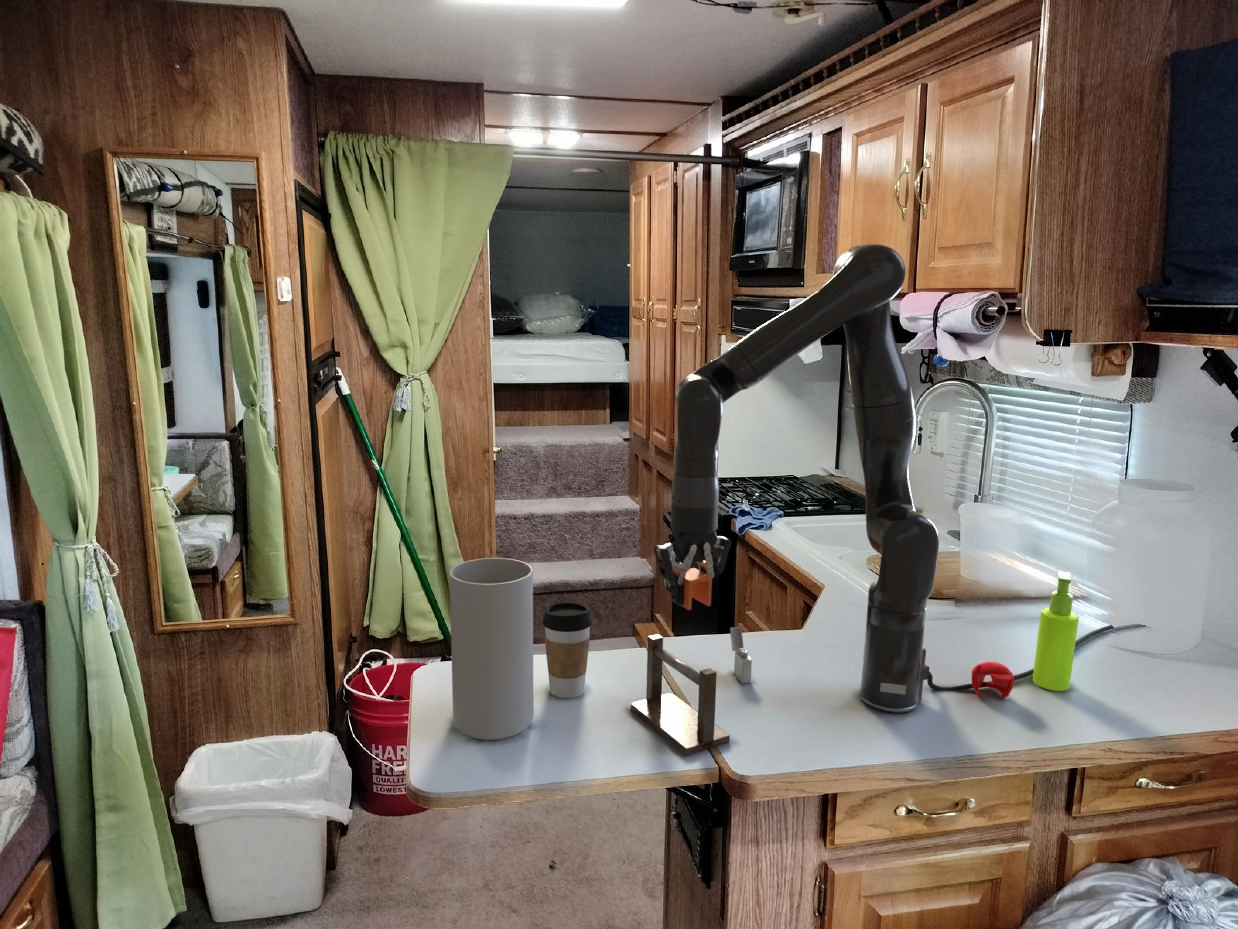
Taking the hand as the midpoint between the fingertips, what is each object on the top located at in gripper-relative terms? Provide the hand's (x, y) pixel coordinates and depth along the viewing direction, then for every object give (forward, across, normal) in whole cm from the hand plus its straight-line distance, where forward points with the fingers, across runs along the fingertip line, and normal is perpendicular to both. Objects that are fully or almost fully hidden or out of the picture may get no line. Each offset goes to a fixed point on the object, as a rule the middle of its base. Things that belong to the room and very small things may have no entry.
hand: (691, 601), depth 139 cm
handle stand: (+17, -6, -7) cm, 20 cm away
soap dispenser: (+17, +61, -25) cm, 68 cm away
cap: (+17, +47, -23) cm, 55 cm away
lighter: (+17, +13, +3) cm, 22 cm away
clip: (0, 0, 0) cm, 0 cm away
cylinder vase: (+17, -32, +8) cm, 37 cm away
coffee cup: (+17, -17, +12) cm, 27 cm away
